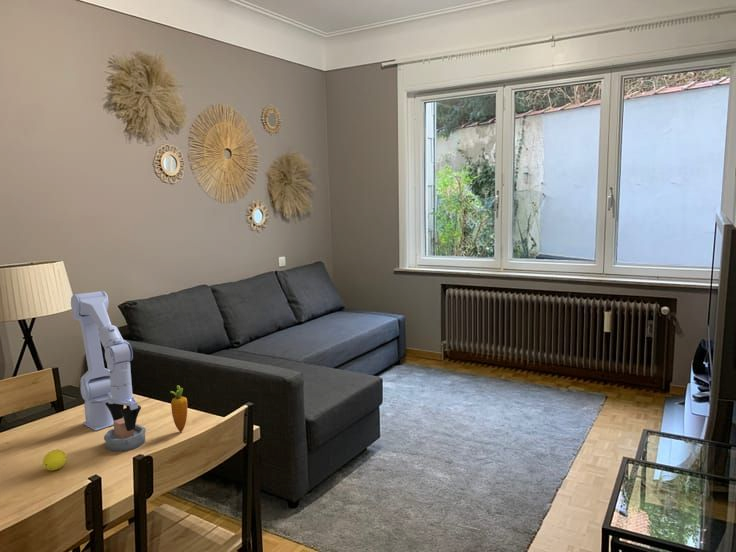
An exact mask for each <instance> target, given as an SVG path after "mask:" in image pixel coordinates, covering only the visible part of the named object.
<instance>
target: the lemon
mask: <svg viewBox="0 0 736 552" xmlns="http://www.w3.org/2000/svg"><path fill="white" fill-rule="evenodd" d="M66 462H67V455H66V453H65V451H63V450H60V449H53V450H51V451H49V452H47V453H46V454H45V455H44V457H43V459H42V466H43V467H44V469H45V470H47V471H56V470H60V469H62V467H64V466H65V464H66Z"/></svg>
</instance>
